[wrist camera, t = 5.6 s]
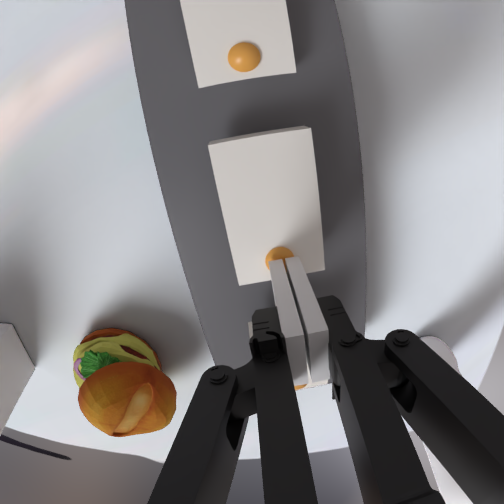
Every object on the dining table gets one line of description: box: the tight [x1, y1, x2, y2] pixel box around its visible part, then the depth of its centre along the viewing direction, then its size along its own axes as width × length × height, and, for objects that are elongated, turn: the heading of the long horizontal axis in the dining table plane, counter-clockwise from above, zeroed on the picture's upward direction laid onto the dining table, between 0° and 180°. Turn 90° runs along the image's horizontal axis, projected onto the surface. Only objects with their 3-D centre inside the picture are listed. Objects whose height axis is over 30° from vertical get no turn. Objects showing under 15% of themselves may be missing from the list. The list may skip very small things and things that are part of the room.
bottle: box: [420, 336, 473, 504], centre depth 19 cm, size 8×8×30 cm
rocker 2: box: [208, 126, 325, 286], centre depth 17 cm, size 8×5×2 cm, turn 10°
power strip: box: [125, 0, 366, 391], centre depth 19 cm, size 40×12×6 cm, turn 10°
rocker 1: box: [180, 0, 296, 88], centre depth 12 cm, size 8×5×2 cm, turn 10°
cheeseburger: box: [73, 328, 176, 437], centre depth 26 cm, size 10×11×10 cm
